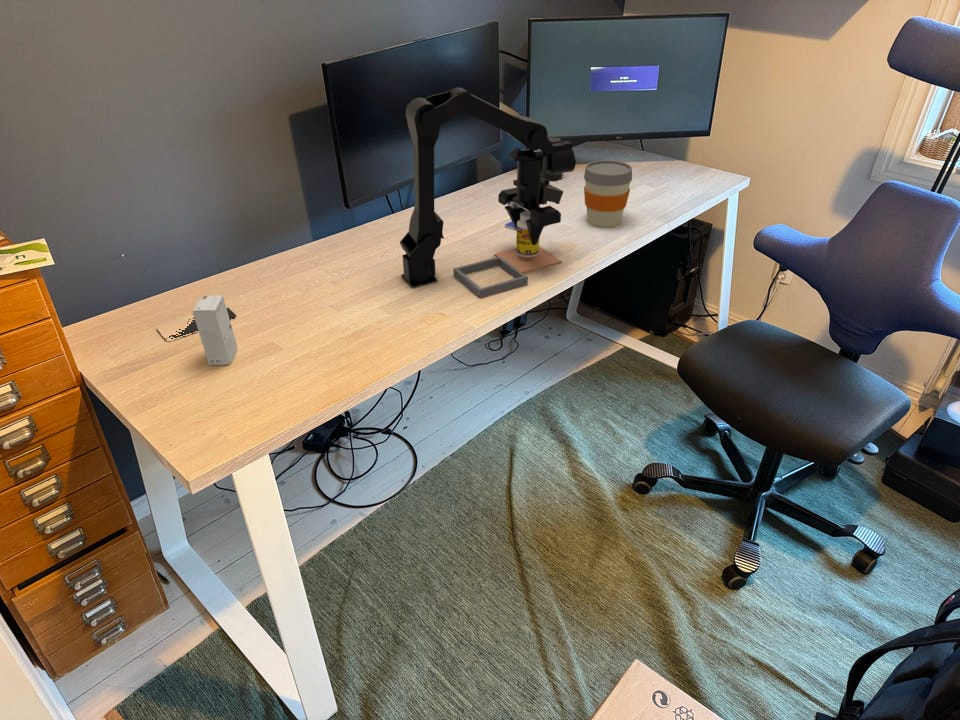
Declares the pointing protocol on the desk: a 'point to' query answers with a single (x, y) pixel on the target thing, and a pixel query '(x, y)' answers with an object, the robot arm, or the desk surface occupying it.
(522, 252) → the supplement bottle
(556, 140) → the supplement bottle
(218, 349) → the skincare box
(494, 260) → the square frame
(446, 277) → the desk surface
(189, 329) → the dark flat slab
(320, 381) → the desk surface
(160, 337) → the desk surface
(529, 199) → the robot arm
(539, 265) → the pad
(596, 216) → the reusable coffee cup
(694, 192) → the desk surface
